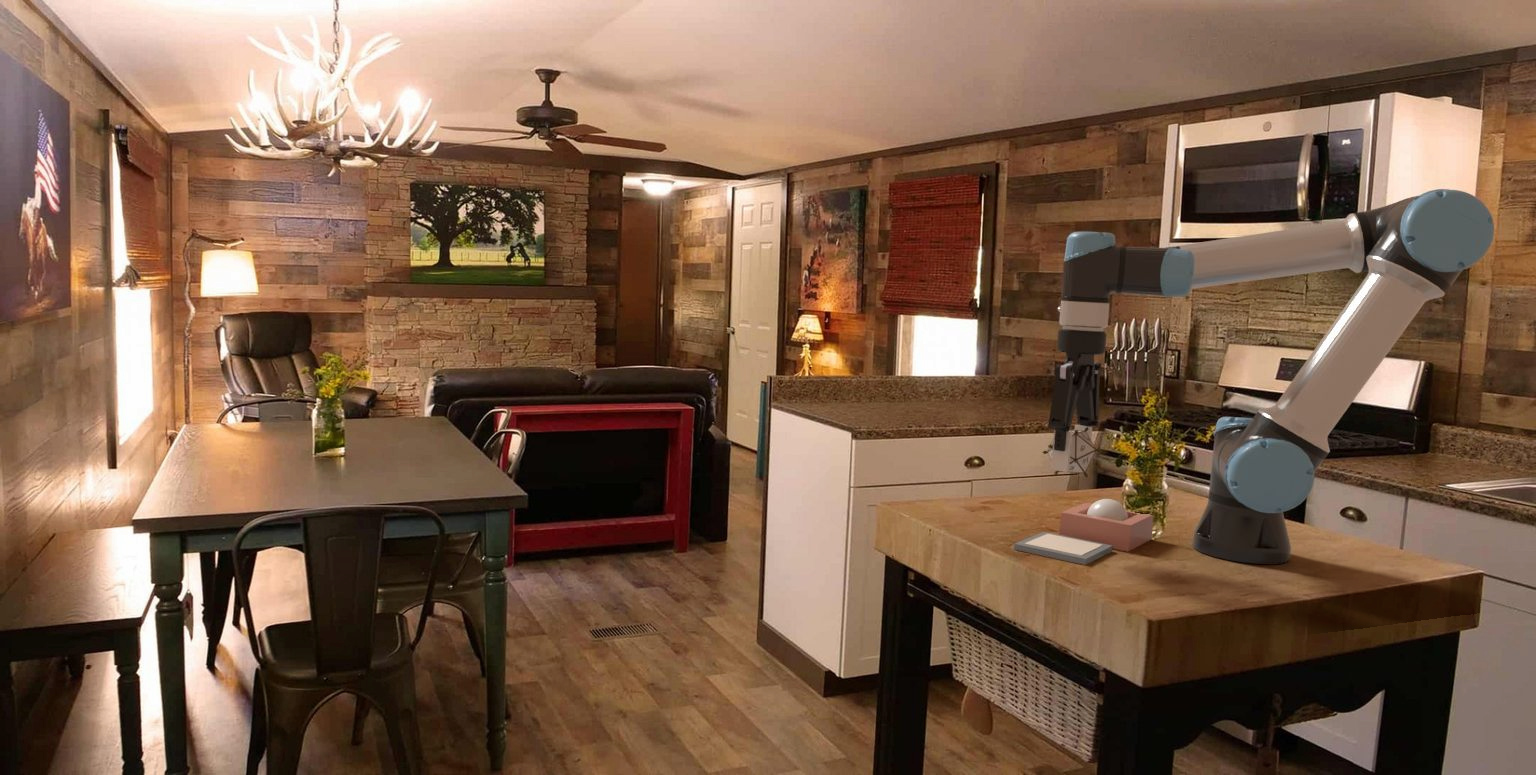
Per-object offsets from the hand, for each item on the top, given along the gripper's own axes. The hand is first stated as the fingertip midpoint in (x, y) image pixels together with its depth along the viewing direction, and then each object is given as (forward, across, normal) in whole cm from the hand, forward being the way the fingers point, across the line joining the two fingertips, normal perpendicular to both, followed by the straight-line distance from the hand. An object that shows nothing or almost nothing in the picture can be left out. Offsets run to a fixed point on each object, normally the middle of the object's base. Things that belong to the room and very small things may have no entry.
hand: (1070, 467), depth 171 cm
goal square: (+14, 0, 0) cm, 14 cm away
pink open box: (+14, -14, +2) cm, 20 cm away
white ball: (+15, -14, +2) cm, 21 cm away
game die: (+1, 0, 0) cm, 1 cm away
